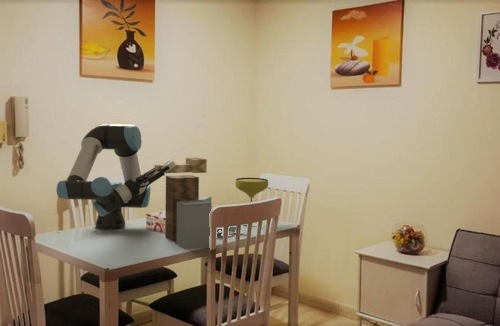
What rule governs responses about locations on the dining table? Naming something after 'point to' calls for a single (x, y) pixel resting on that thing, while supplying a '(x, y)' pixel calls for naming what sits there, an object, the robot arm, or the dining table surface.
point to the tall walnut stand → (178, 199)
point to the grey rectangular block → (193, 223)
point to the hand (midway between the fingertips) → (172, 162)
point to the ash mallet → (188, 166)
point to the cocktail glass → (251, 185)
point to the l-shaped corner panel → (231, 230)
